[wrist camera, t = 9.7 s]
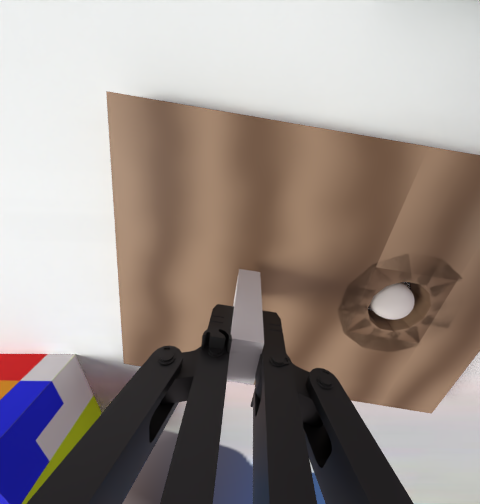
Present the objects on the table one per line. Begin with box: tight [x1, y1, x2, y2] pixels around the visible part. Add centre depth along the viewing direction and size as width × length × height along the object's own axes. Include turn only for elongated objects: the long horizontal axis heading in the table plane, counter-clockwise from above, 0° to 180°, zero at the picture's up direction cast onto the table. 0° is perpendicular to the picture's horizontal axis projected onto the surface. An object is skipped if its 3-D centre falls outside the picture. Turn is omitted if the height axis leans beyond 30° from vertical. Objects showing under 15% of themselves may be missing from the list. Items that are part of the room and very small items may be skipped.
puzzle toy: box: [0, 354, 101, 504], centre depth 23 cm, size 10×10×10 cm
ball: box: [369, 282, 415, 320], centre depth 19 cm, size 3×3×3 cm
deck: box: [106, 91, 480, 413], centre depth 19 cm, size 30×22×2 cm
